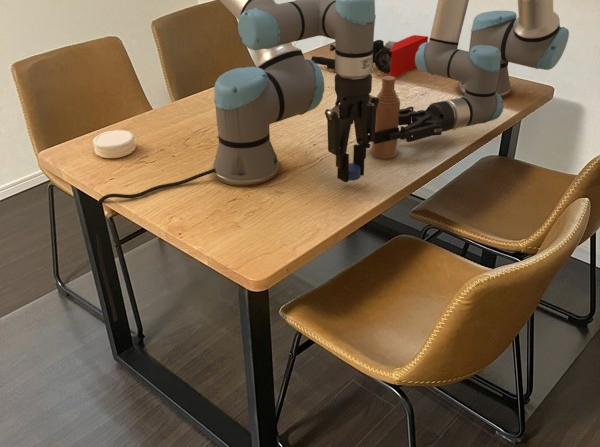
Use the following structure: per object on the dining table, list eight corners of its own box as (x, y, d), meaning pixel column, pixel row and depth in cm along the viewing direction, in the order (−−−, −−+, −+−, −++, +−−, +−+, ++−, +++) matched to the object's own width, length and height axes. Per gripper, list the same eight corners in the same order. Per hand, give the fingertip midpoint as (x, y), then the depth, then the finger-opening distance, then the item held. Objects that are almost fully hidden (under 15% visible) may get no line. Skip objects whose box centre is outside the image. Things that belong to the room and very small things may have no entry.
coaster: (106, 163, 150) (103, 149, 148) (88, 149, 156) (85, 137, 155) (143, 150, 156) (141, 137, 154) (124, 138, 162) (122, 126, 160)
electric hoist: (310, 36, 203) (391, 51, 188) (352, 23, 222) (429, 35, 207) (309, 67, 208) (388, 83, 193) (351, 51, 227) (425, 65, 212)
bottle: (367, 150, 155) (371, 75, 144) (389, 146, 156) (394, 72, 146) (378, 160, 150) (382, 83, 139) (400, 156, 151) (406, 80, 141)
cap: (346, 182, 135) (347, 172, 134) (338, 174, 138) (338, 165, 137) (363, 178, 136) (363, 169, 135) (354, 170, 139) (355, 161, 138)
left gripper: (334, 88, 118) (333, 195, 130) (396, 68, 127) (389, 170, 139) (309, 78, 123) (310, 182, 135) (370, 60, 132) (366, 159, 144)
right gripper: (468, 143, 150) (387, 163, 142) (423, 116, 165) (347, 132, 157) (473, 114, 146) (389, 133, 138) (426, 89, 161) (348, 104, 153)
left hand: (350, 176), depth 137 cm, fingers closed on cap, 4 cm apart
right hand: (367, 132), depth 148 cm, fingers closed on bottle, 6 cm apart
